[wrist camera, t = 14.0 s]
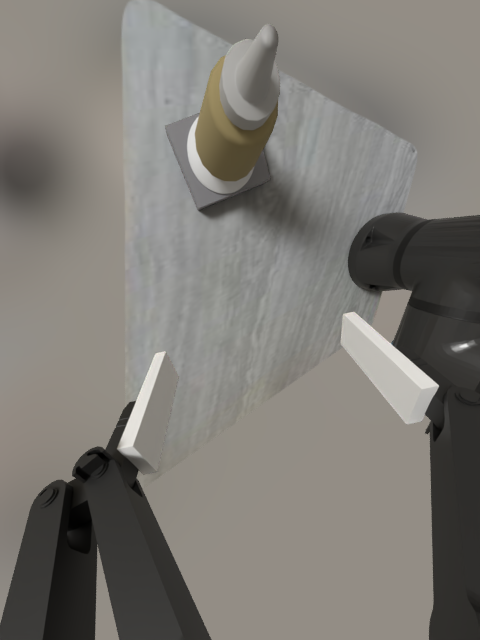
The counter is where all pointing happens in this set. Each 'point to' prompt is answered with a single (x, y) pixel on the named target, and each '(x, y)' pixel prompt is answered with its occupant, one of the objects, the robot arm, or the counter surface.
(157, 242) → the counter surface
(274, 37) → the squeeze bottle
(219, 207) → the counter surface
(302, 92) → the counter surface
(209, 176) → the white dome on base
